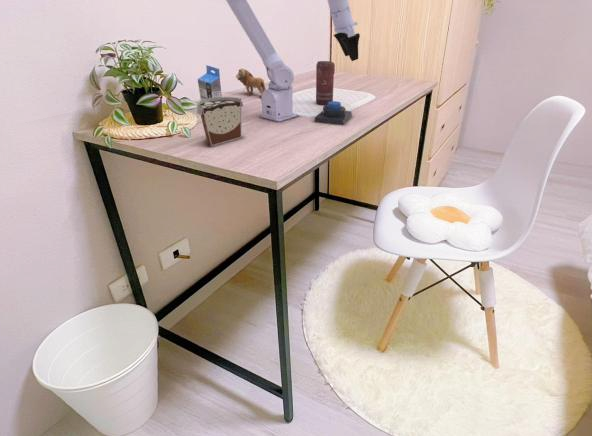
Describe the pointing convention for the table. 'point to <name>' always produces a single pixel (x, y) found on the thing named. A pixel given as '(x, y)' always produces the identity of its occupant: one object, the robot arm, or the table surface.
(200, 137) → the table surface
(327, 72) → the can
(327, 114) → the button base
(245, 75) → the lion figurine
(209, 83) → the tape cartridge
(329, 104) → the blue button cap
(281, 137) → the table surface
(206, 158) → the table surface
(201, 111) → the food container
